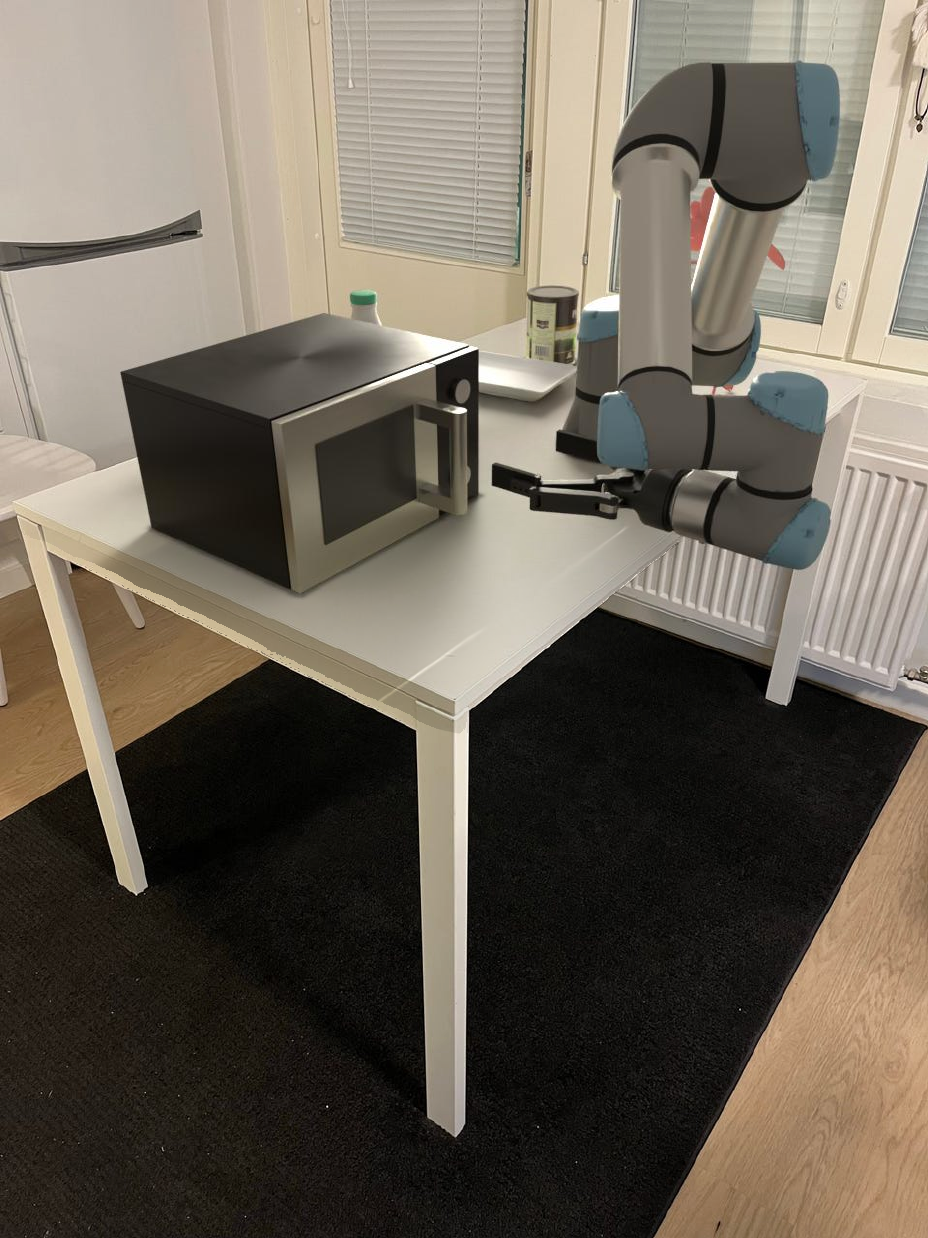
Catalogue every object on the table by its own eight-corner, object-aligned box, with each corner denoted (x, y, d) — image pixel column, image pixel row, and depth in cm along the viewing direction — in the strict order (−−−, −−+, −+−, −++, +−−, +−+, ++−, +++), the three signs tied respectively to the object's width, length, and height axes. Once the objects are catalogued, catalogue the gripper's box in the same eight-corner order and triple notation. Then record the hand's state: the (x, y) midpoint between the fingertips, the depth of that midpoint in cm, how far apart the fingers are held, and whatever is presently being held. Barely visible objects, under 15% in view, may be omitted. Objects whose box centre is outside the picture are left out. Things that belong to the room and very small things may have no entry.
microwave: (482, 497, 140) (483, 347, 128) (303, 596, 116) (284, 423, 104) (335, 449, 156) (324, 312, 144) (151, 527, 132) (119, 371, 120)
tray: (542, 410, 171) (543, 391, 169) (395, 383, 184) (394, 365, 182) (580, 383, 183) (581, 365, 181) (440, 360, 196) (440, 343, 195)
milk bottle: (341, 409, 172) (332, 295, 161) (360, 395, 178) (353, 285, 167) (379, 414, 169) (373, 299, 159) (398, 400, 176) (393, 289, 165)
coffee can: (572, 354, 199) (576, 284, 192) (577, 369, 191) (581, 297, 183) (523, 354, 200) (525, 284, 192) (525, 369, 191) (527, 297, 183)
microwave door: (479, 531, 130) (479, 375, 118) (341, 612, 112) (326, 438, 101) (430, 514, 135) (426, 362, 123) (291, 589, 117) (271, 420, 105)
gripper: (623, 574, 99) (464, 519, 111) (727, 494, 116) (579, 454, 127) (629, 508, 95) (463, 458, 107) (736, 436, 112) (583, 399, 123)
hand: (526, 456), depth 117 cm, fingers open, 13 cm apart
